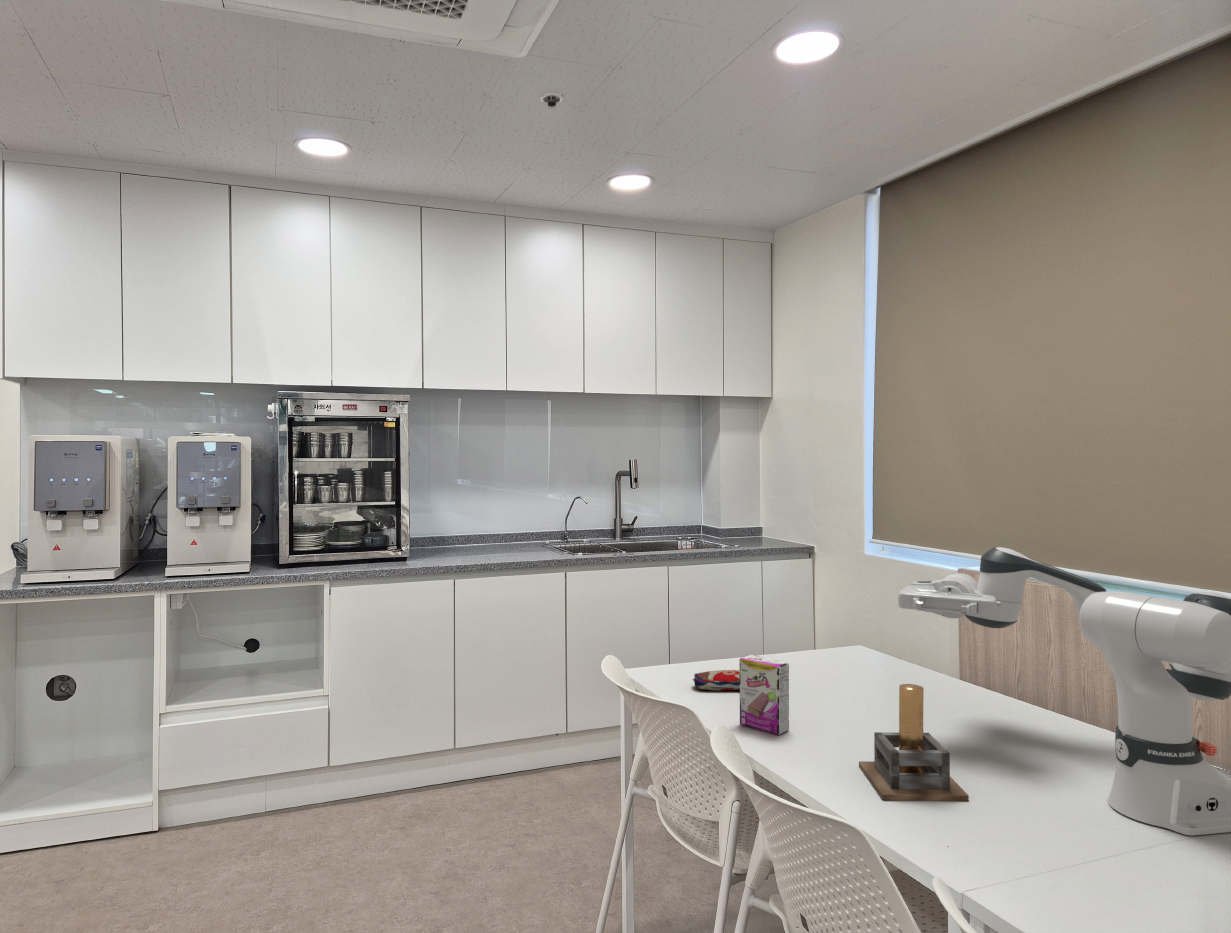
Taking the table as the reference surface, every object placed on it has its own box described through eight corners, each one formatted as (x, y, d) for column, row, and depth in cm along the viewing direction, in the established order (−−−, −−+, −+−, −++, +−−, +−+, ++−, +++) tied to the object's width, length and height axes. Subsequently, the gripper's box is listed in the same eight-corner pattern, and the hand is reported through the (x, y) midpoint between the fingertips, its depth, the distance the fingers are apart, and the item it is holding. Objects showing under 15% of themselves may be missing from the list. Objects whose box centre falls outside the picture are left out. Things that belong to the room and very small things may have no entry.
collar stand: (936, 766, 160) (936, 728, 160) (968, 800, 144) (968, 758, 144) (858, 766, 161) (858, 728, 161) (882, 800, 145) (882, 757, 145)
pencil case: (761, 698, 208) (761, 679, 208) (689, 692, 214) (689, 674, 214) (765, 686, 218) (765, 669, 218) (697, 681, 224) (697, 664, 224)
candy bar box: (738, 725, 186) (738, 657, 186) (750, 720, 190) (749, 653, 190) (779, 736, 179) (778, 666, 178) (790, 730, 182) (789, 661, 182)
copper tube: (918, 772, 155) (918, 683, 155) (926, 782, 150) (927, 690, 150) (895, 772, 155) (896, 683, 155) (903, 782, 151) (903, 690, 150)
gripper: (1002, 616, 172) (994, 628, 160) (906, 607, 183) (892, 618, 171) (1002, 588, 172) (994, 598, 160) (906, 580, 183) (892, 589, 171)
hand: (941, 608), depth 166 cm, fingers open, 8 cm apart
